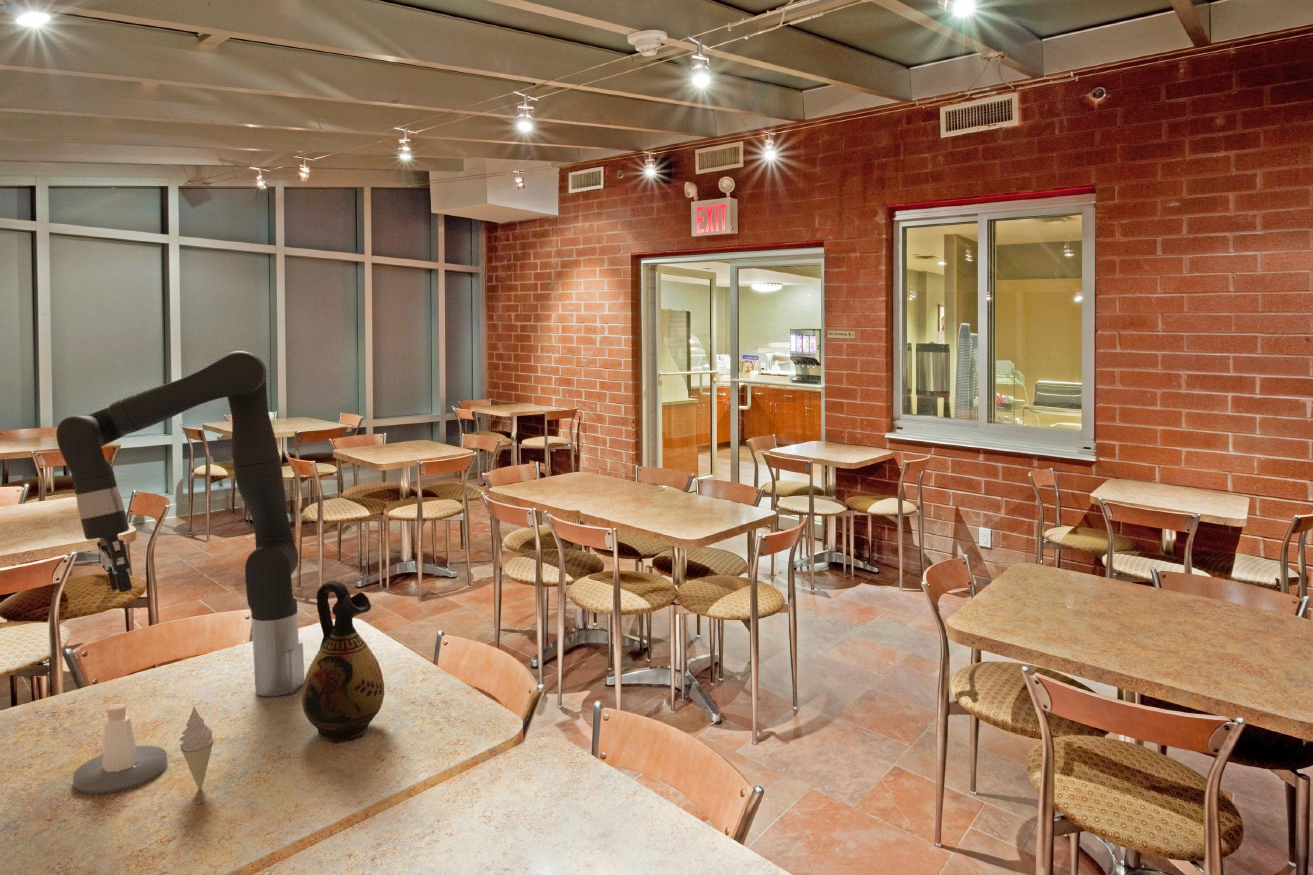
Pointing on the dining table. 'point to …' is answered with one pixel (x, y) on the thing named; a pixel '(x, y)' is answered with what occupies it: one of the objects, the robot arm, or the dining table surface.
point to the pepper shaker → (118, 741)
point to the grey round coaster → (120, 772)
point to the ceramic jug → (342, 671)
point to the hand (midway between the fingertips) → (121, 589)
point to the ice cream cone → (197, 747)
